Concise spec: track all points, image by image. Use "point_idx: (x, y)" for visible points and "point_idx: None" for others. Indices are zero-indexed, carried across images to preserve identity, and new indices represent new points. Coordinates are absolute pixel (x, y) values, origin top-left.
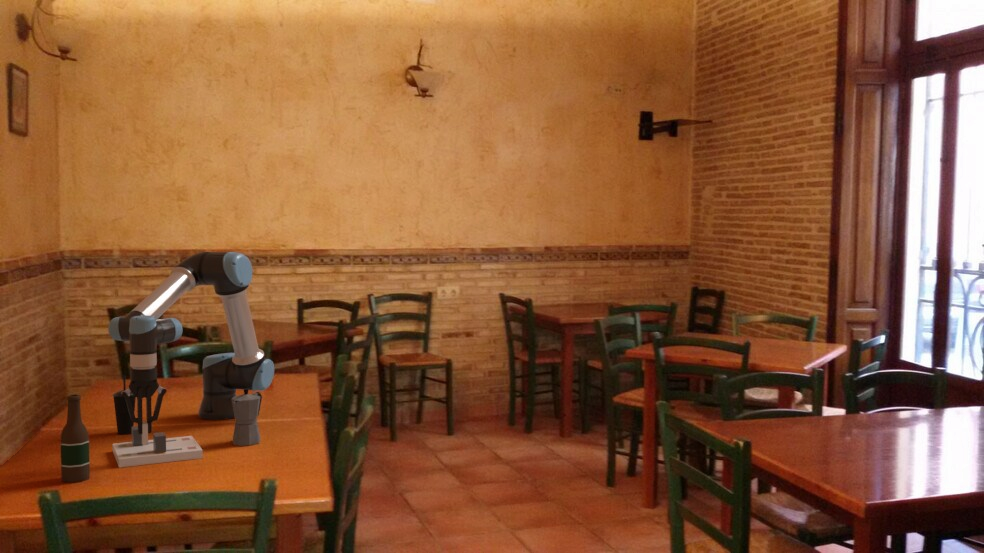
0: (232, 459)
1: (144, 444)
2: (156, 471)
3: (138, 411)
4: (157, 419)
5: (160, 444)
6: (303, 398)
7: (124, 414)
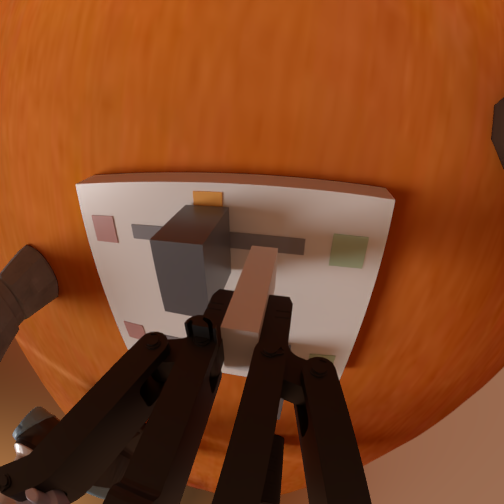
0: (38, 132)
1: (269, 248)
2: (255, 51)
3: (270, 433)
4: (146, 334)
5: (194, 221)
6: (60, 402)
7: (267, 469)
